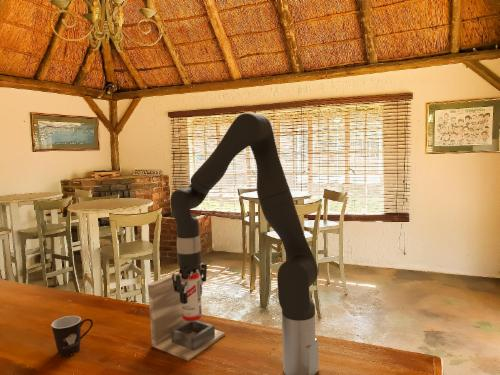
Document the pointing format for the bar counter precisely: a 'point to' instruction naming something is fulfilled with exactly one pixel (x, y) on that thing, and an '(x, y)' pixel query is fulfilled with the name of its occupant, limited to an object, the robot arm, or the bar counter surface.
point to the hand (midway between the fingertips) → (191, 299)
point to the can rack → (176, 323)
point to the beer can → (192, 299)
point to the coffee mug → (68, 334)
